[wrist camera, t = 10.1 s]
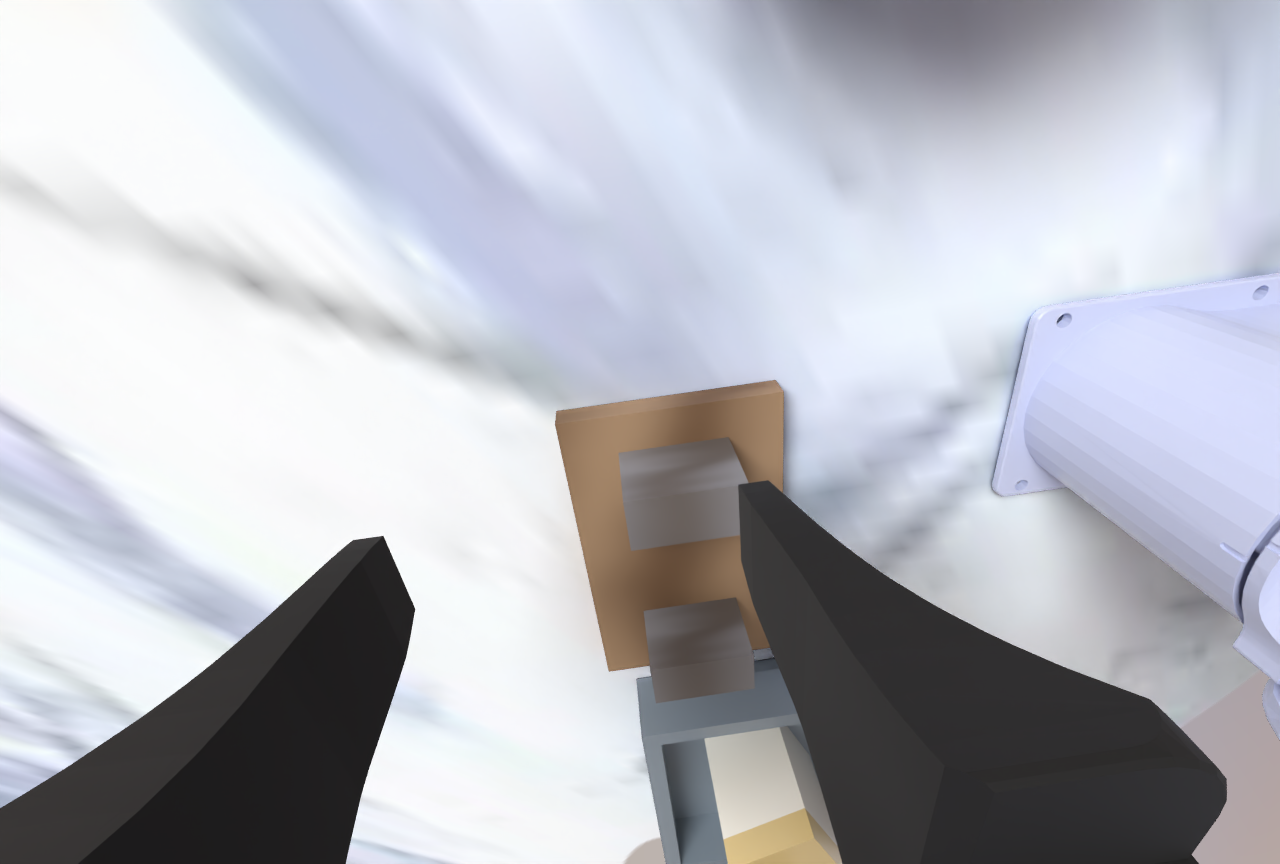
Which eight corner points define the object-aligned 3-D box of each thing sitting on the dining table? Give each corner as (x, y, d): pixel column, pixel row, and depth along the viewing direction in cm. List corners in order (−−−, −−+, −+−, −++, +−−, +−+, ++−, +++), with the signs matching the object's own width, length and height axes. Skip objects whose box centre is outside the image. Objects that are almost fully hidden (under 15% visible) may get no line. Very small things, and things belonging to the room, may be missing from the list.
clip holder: (775, 380, 21) (813, 433, 17) (775, 628, 27) (802, 704, 24) (556, 411, 21) (550, 471, 17) (608, 653, 27) (611, 733, 24)
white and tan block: (773, 708, 29) (814, 838, 24) (809, 754, 31) (853, 883, 26) (704, 737, 30) (729, 870, 25) (744, 781, 32) (774, 911, 27)
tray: (873, 643, 28) (902, 697, 26) (855, 787, 35) (877, 842, 32) (636, 679, 28) (641, 737, 25) (661, 817, 34) (668, 875, 32)
